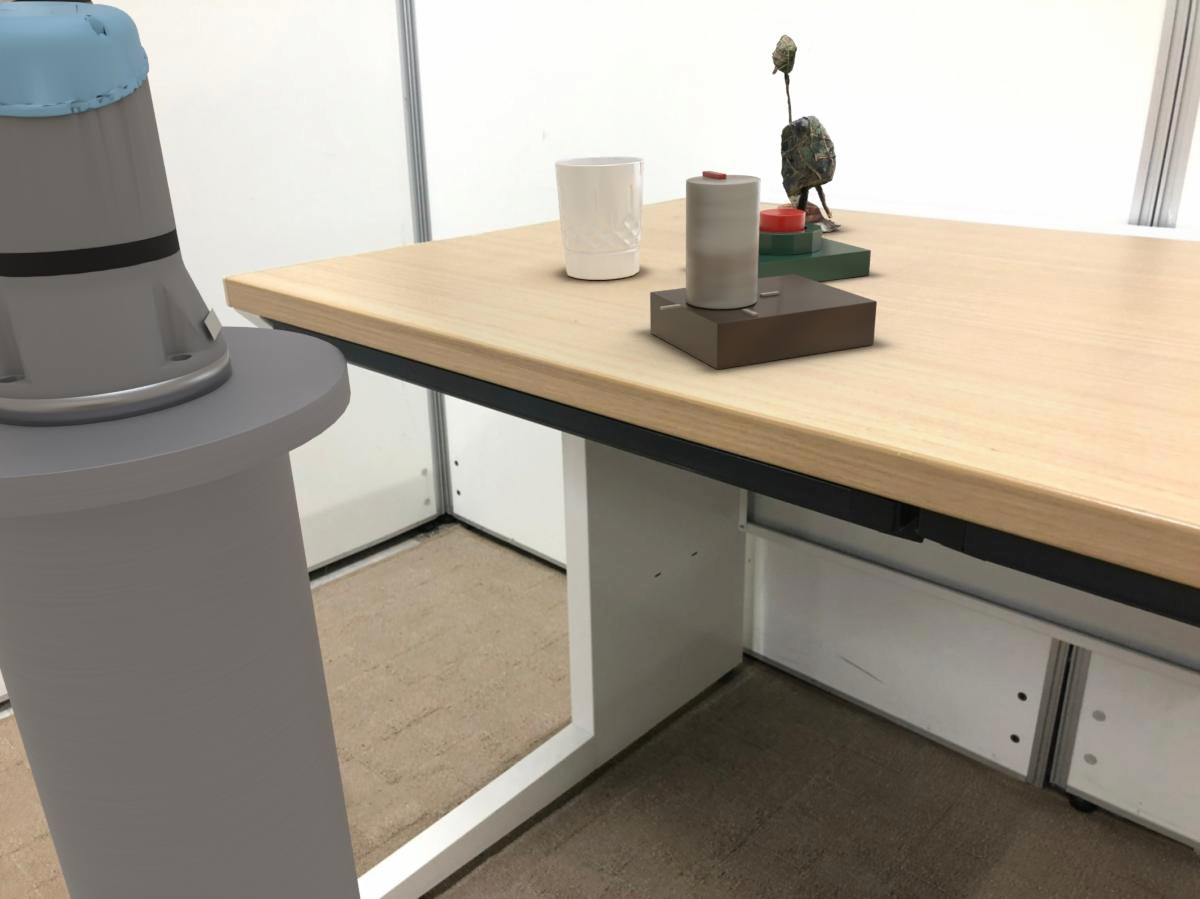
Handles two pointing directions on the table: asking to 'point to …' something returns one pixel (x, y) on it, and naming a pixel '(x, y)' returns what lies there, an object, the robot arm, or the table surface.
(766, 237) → the switchbox
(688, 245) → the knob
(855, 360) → the table surface
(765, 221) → the button
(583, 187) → the white cup
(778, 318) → the panel
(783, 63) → the stone bird figurine
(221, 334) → the robot arm
